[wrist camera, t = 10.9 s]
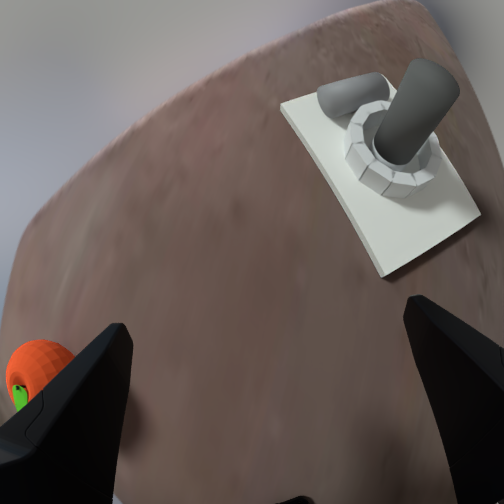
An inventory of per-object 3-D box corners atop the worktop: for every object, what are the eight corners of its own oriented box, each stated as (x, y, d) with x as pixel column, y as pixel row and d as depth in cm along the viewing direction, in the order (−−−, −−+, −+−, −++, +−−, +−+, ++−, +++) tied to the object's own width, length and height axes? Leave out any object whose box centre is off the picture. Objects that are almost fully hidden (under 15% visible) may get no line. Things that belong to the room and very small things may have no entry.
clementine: (107, 433, 21) (61, 460, 14) (47, 419, 21) (-3, 434, 14) (100, 342, 22) (47, 344, 16) (40, 336, 23) (-15, 333, 16)
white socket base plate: (475, 217, 23) (499, 202, 19) (380, 277, 23) (401, 268, 19) (379, 80, 27) (389, 54, 23) (280, 110, 26) (281, 81, 23)
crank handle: (412, 172, 23) (468, 102, 14) (375, 174, 24) (424, 97, 14) (399, 137, 24) (444, 61, 15) (363, 138, 24) (400, 55, 15)
